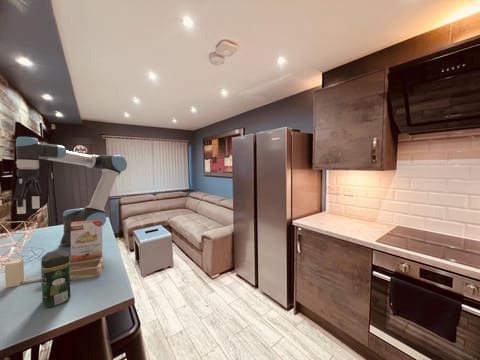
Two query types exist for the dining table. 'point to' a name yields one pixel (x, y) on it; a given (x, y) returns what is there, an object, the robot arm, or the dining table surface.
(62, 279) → the coffee jar
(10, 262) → the corded block
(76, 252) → the cracker box
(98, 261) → the frame
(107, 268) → the dining table surface
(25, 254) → the dining table surface
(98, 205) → the robot arm
